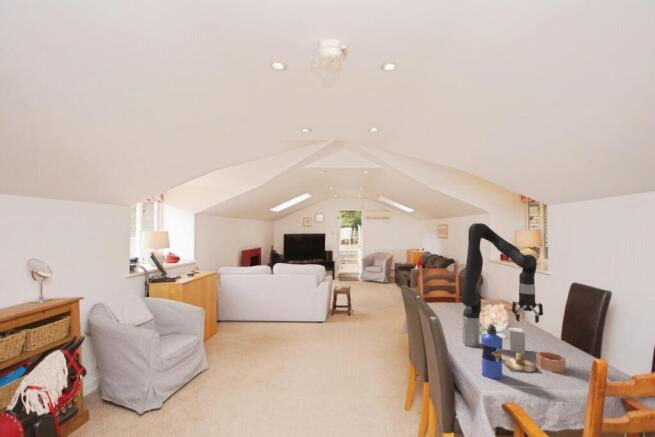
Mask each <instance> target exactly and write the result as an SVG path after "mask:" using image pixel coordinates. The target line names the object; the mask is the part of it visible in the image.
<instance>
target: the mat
mask: <svg viewBox="0 0 655 437" xmlns="http://www.w3.org/2000/svg"><path fill="white" fill-rule="evenodd" d="M505 360H506V359H502V365H504V366H505V367H506V368H507V370H509V372H510V373H522V374H523V373H524V374H525V373H526V374H541V375H542V374H544V373H543V372H542V371H541V369H540V368H538V367H536V371H534V372H520V371H516V370H513V369H511V368H509V367H507V366H506V364H505ZM528 361H529V362H531V361H530V360H528Z"/></svg>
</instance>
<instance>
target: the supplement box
mask: <svg viewBox="0 0 655 437" xmlns="http://www.w3.org/2000/svg"><path fill="white" fill-rule="evenodd" d="M508 349H509V351H510V352H511V353H515V354H516V353H522V354H524V355H525V354H526V332H525V331H524V329H523V328H522V327H521V328H518V327H508Z"/></svg>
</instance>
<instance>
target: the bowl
mask: <svg viewBox="0 0 655 437" xmlns="http://www.w3.org/2000/svg"><path fill="white" fill-rule="evenodd" d="M535 365H536V367H537V368H539V369H540V370H544V371H547V372H550V373H563V372H565V371H566V358H565V357H563V356H562V355H560V354H558V353H554V352H550V351H539V352H537V353H535Z"/></svg>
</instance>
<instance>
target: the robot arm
mask: <svg viewBox="0 0 655 437" xmlns="http://www.w3.org/2000/svg"><path fill="white" fill-rule="evenodd" d="M467 235H468V236H467V237H468V238H467V241H468V243H467V244H468V246H467V254H466V255H467V256H466V262H465V263H466V264H465V272H464V281H463V282H464V283H463V287H462V291H461V296H460V297H461V298H460V299H461V303H462V304H463V305H464V306H465V308H464V310H463V312H462V313H463V314H462V315H463V317H462V318H463V319H462V320H463V321H462V323H463V324H462V325H463V326H462V329H461V330H462V332H461V333H462V343H463V345H464V346H468V347H475V348H476V347H477V348H478V347H479V346H480V344H481V342H480V338H481V336H480V328H481V327H480V314H481V311H482V297H481V294H480V293H479V291H478V290H476V289H477V286H478V282H479V279H480V277H481V275H482V272H483V266H484V265H483V264H484V259H483V258H484V257H483V255H482V251H481V240H482V239H484V240H485V241H487V242H489V243H491V244H493V246H494V248H496V250H498V251H499V252H500V253H501V254H503V255H504V256H506V257H508V259H510V260H511V261H512V262H513V263H514V264H515V265H516V266H518V267H520V268H522V271H521V272H520V273H519V275H518V276H519V282H518V283H519V285H518V301H512V303H511V312H512V313H513V314H515V320H516V321H517V322H518V323H519V322H520V314H521V313H522V312H523V311H524V312H533V314H534V322H535V324H538V323H539V321H540V316H543V315H544V309H543V304H542V302H541V303H540V302H539V303H536V287H535V282H536V281H535V274H536V270H537V267H538V265H537V264H538V263H537V259H536V257H535V255H532V254H524V253H522V252H521V251H520V248H518V247H516V245H514V244H512V243H511V242H508V241H507V240H505V239H504V238H503V237H502V236H500V235H499V234H497V232H495V231H494V230H493V229H492V228H490V227H489V226H488V225H487V224H485V223H482V222H481V223H478V222H477V223H476V222H475V223H472V224H470V226H469V227H468V234H467ZM518 306H519V307H518ZM516 307H518V309H517V310H516ZM536 307H537V308H538V311H537V310H536V309H535V308H536Z"/></svg>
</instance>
